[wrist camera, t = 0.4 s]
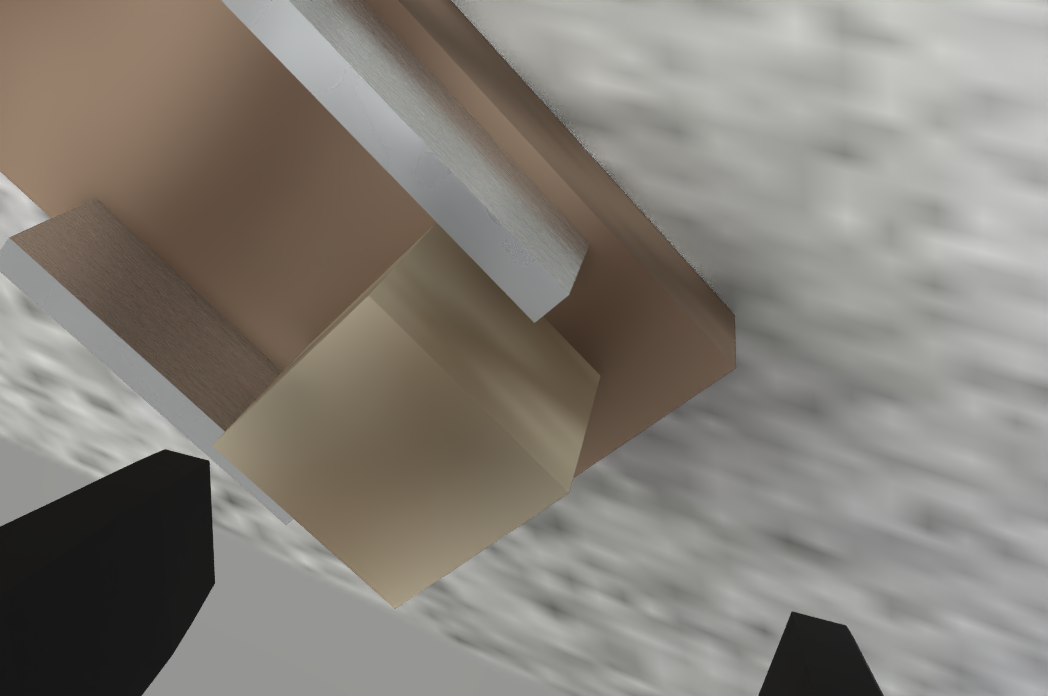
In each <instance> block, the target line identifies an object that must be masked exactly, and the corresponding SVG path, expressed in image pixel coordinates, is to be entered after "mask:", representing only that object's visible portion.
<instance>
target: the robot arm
mask: <svg viewBox="0 0 1048 696" xmlns="http://www.w3.org/2000/svg"><path fill="white" fill-rule="evenodd" d="M214 574H215V573H214V551H213V529H212V507H211V485H210V463H209V461H208V460H204V459H200V458H197V457H193V456H189V455H185V454H181V453H177V452H173V451H169V450H166V449H165V450H162V451H160V452H158V453H155V454H153V455H151V456H148V457H146V458H144V459H141V460H139V461H137V462H135V463H133V464H131V465H129V466H126V467H124V468H122V469H120V470H118V471H116V472H114V473H112V474H110V475H107V476H105V477H103V478H101V479H99V480H97V481H95V482H93V483H91V484H89V485H87V486H85V487H83V488H81V489H79V490H77V491H74V492H72V493H70V494H68V495H66V496H64V497H62V498H60V499H58V500H56V501H54V502H51V503H50V504H47V505H45V506H43V507H41V508H39V509H37V510H34V511H32V512H30V513H28V514H26V515H24V516H22V517H20V518H18V519H15V520H14V521H11V522H9V523H7V524H5V525H3V526H1V527H0V696H142V694H143V693H144V692H145V690H146V689H147V688H148V687H149V685H150V684H151V683H152V681H153V680H154V679H155V677H156V676H157V675H158V673H159V672H160V671H161V669H162V668H163V667H164V665H165V664H166V663H167V661H168V660H169V659H170V657H171V656H172V655H173V653H174V652H175V650H176V648H177V647H178V645H179V643H180V642H181V640H182V638H183V637H184V635H185V634H186V632H187V630H188V629H189V627H190V626H191V624H192V622H193V621H194V619H195V617H196V615H197V613H198V612H199V610H200V608H201V607H202V605H203V603H204V601H205V600H206V598H207V596H208V594H209V592H210V591H211V589H212V587H213V586H214V584H215V575H214ZM759 696H884V695H883V693H882V691H881V690H880V688H879V686H878V684H877V682H876V680H875V678H874V676H873V674H872V672H871V670H870V668H869V666H868V664H867V663H866V661H865V659H864V657H863V655H862V653H861V651H860V649H859V647H858V645H857V643H856V641H855V639H854V637H853V636H852V634H851V632H850V631H849V629H848V628H847V626H846V625H842V624H838V623H834V622H830V621H826V620H823V619H819V618H815V617H811V616H807V615H803V614H799V613H796V612H792V613H791V615H790V618H789V620H788V623H787V625H786V628H785V630H784V633H783V635H782V638H781V640H780V643H779V645H778V648H777V650H776V653H775V655H774V658H773V660H772V663H771V665H770V668H769V670H768V673H767V675H766V678H765V680H764V683H763V685H762V688H761V690H760V693H759Z"/></svg>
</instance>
